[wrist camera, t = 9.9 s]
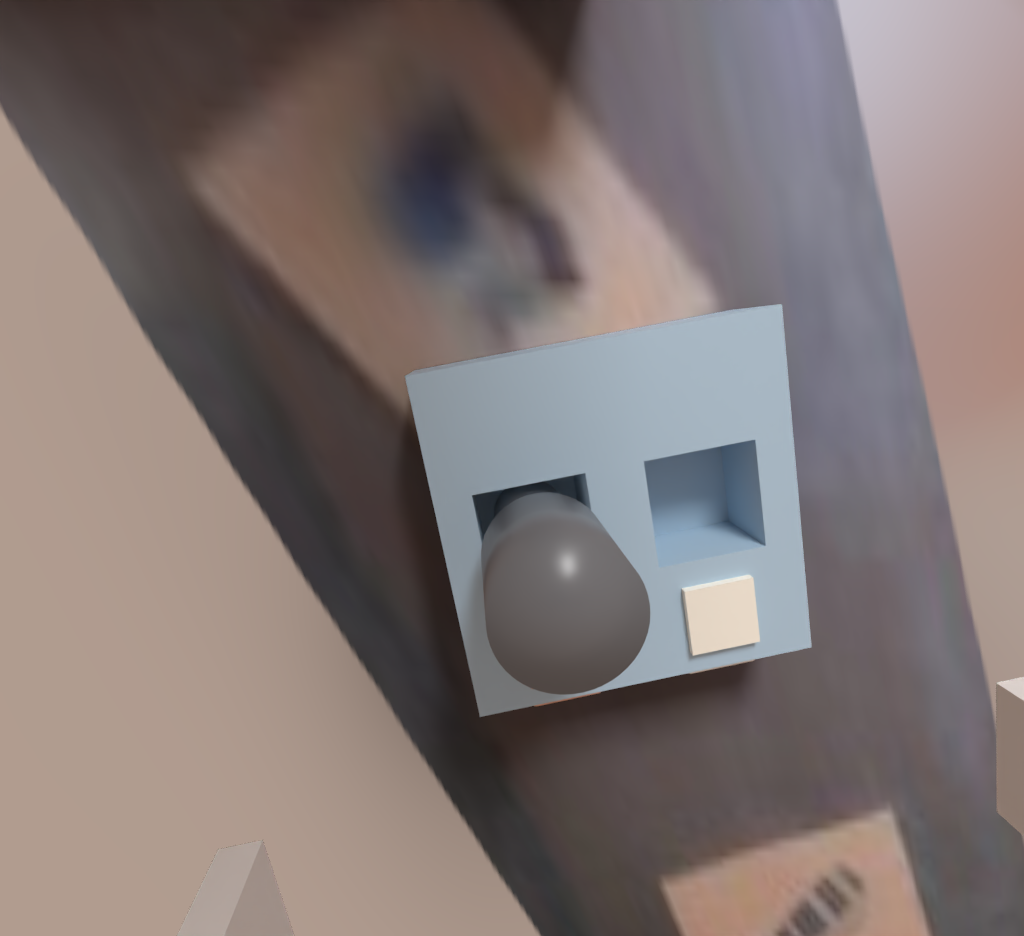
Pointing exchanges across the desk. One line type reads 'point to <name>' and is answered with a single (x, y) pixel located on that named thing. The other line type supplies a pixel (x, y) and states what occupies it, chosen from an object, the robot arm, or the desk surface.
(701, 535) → the socket board
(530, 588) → the grey piece
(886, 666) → the desk surface
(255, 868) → the robot arm
